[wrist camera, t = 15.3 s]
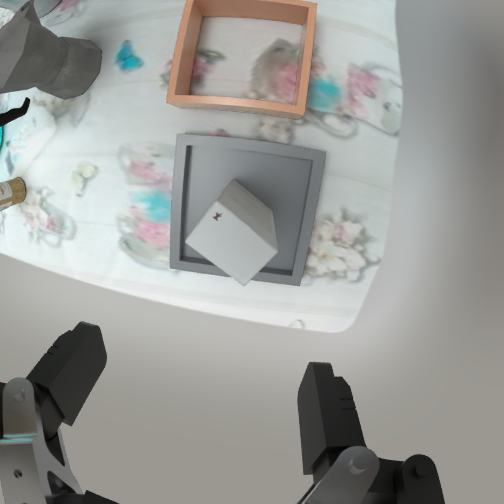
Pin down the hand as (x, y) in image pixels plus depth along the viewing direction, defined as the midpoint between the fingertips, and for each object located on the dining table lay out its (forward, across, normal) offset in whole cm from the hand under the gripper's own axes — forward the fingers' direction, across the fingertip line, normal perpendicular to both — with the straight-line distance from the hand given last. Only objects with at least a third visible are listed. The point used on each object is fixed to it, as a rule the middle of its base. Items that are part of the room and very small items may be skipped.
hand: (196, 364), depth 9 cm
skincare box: (+24, 0, 0) cm, 24 cm away
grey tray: (+25, 0, 0) cm, 25 cm away
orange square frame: (+25, +2, -18) cm, 31 cm away
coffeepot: (+25, +26, -17) cm, 40 cm away
